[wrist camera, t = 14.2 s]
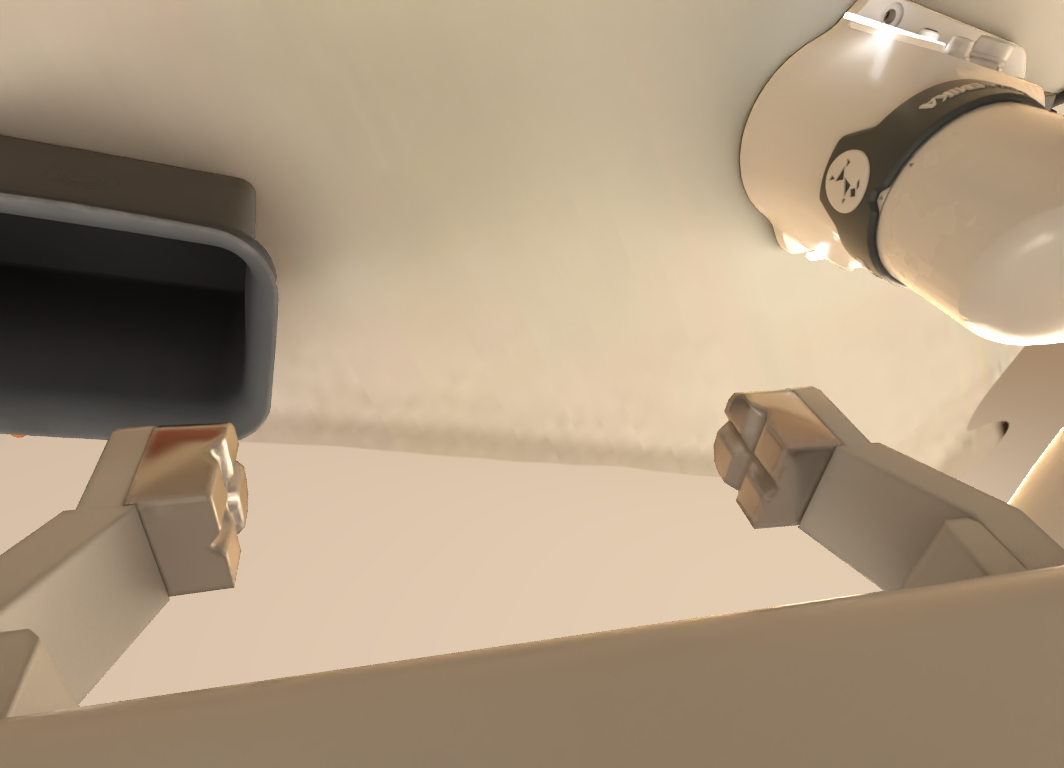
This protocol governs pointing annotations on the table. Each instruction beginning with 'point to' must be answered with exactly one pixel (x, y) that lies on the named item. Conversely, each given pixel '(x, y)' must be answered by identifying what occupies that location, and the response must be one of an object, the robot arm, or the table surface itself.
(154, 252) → the storage bin
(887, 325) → the table surface
